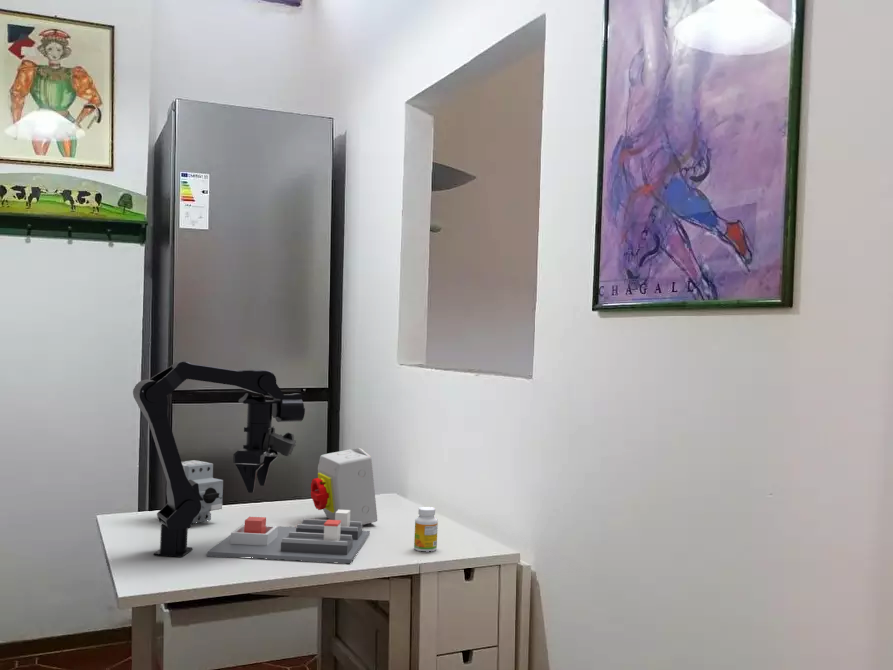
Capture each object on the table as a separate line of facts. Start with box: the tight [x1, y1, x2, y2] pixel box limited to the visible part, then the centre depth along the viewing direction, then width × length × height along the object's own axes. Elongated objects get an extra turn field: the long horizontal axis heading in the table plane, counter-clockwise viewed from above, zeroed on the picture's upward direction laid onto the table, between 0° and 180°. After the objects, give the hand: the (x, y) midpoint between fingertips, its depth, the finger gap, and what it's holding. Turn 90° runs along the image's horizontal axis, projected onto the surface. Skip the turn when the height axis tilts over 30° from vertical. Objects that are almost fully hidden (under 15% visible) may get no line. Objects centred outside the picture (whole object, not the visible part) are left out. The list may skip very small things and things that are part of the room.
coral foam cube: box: [244, 516, 267, 534], centre depth 190 cm, size 4×4×5 cm
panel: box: [206, 518, 371, 564], centre depth 191 cm, size 27×32×4 cm
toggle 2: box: [335, 509, 350, 527], centre depth 198 cm, size 4×3×4 cm
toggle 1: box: [324, 519, 341, 541], centre depth 184 cm, size 4×3×4 cm
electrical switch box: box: [310, 447, 378, 526], centre depth 215 cm, size 15×15×20 cm
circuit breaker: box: [181, 459, 224, 524], centre depth 210 cm, size 8×14×15 cm, turn 53°
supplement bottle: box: [413, 506, 439, 553], centre depth 191 cm, size 5×5×10 cm
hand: (256, 489), depth 190 cm, fingers open, 9 cm apart
